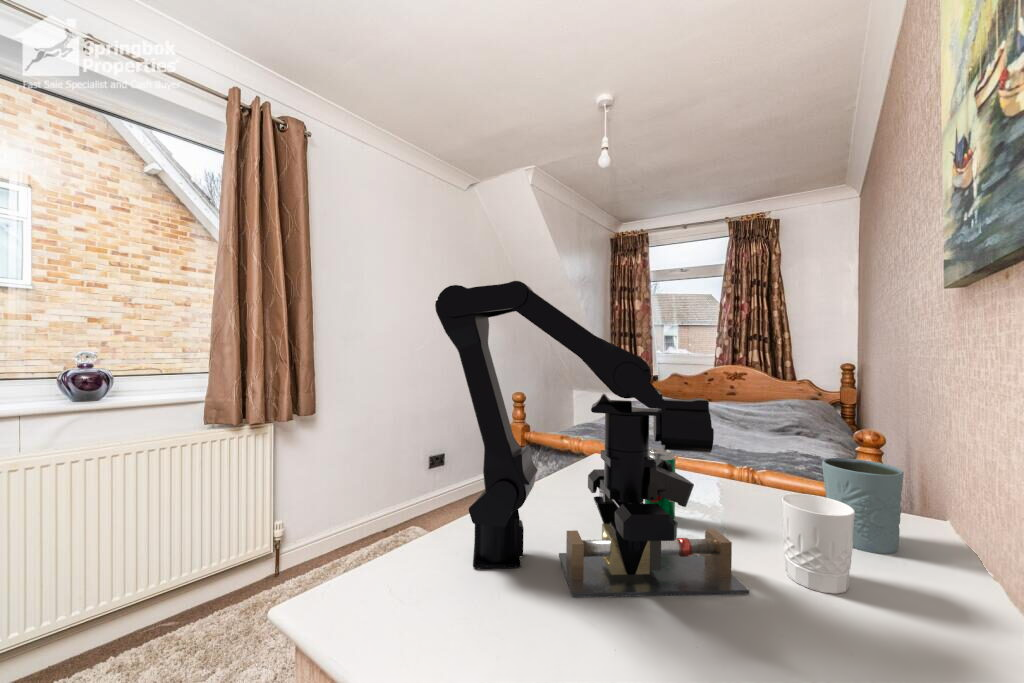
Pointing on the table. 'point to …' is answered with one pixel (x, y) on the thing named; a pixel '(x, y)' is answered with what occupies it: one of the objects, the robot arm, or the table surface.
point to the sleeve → (615, 560)
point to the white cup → (818, 541)
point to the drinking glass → (868, 500)
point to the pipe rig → (681, 570)
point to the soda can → (669, 457)
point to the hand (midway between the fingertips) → (624, 564)
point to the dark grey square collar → (655, 555)
